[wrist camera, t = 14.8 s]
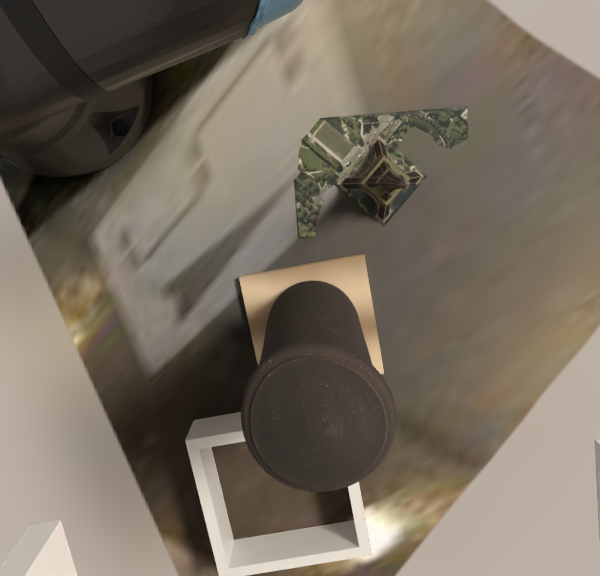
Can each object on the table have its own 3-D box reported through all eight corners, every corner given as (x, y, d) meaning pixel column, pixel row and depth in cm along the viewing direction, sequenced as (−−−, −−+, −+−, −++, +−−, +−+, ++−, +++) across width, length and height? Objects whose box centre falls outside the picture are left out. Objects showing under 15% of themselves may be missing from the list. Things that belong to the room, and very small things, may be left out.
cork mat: (239, 276, 49) (238, 277, 49) (363, 253, 49) (364, 254, 48) (264, 392, 52) (264, 394, 51) (383, 371, 51) (384, 373, 50)
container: (272, 380, 51) (253, 514, 31) (255, 284, 49) (224, 361, 29) (367, 366, 50) (409, 493, 31) (353, 269, 48) (389, 337, 29)
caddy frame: (193, 419, 52) (185, 440, 48) (342, 394, 52) (345, 412, 48) (225, 550, 55) (220, 579, 51) (367, 527, 54) (372, 555, 51)
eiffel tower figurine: (468, 104, 47) (533, 79, 34) (471, 225, 49) (532, 247, 36) (288, 120, 47) (283, 102, 34) (299, 240, 49) (298, 267, 36)
